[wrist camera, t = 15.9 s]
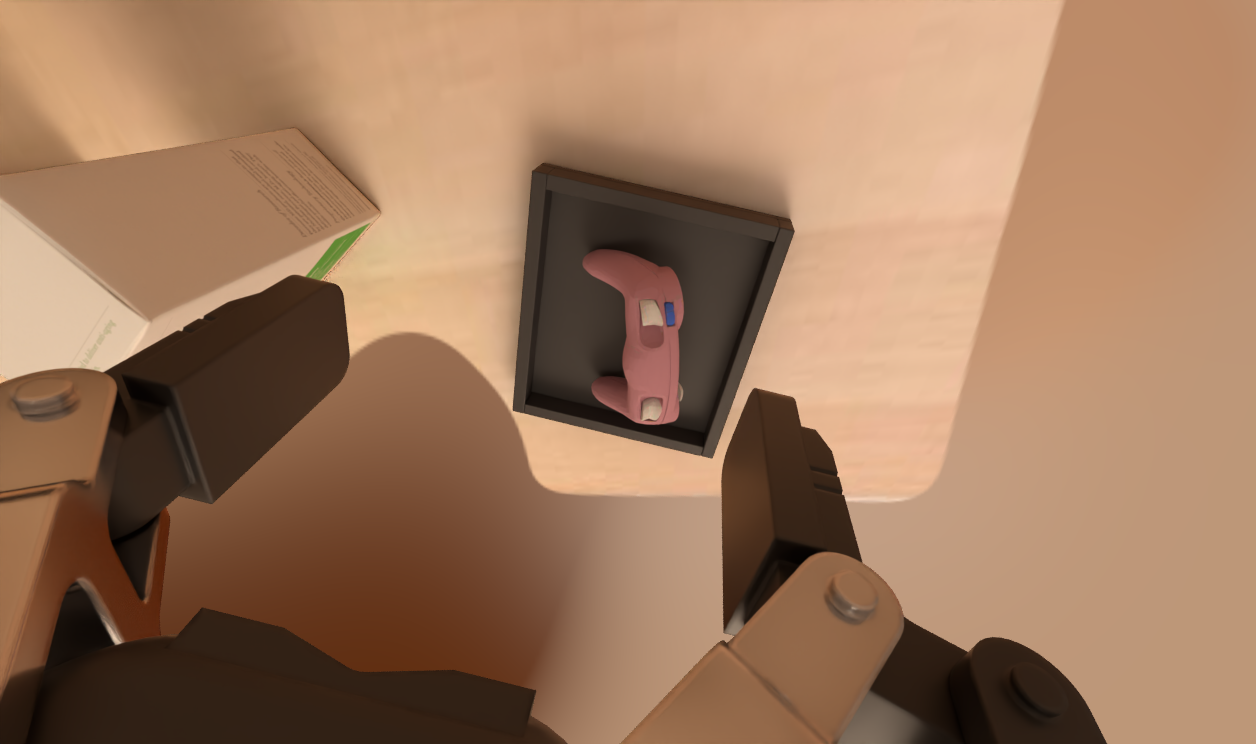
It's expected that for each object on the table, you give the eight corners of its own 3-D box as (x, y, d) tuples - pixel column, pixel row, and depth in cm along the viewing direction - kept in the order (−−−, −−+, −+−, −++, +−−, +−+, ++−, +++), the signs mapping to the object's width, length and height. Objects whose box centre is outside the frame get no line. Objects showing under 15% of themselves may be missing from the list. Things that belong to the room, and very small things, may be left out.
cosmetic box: (315, 289, 35) (78, 437, 22) (227, 209, 33) (-93, 322, 20) (387, 209, 32) (153, 331, 19) (292, 114, 30) (-47, 176, 17)
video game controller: (653, 378, 36) (696, 440, 31) (587, 391, 35) (620, 458, 30) (653, 234, 31) (706, 276, 26) (577, 244, 30) (613, 291, 24)
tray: (521, 394, 38) (512, 411, 36) (543, 162, 29) (531, 170, 27) (712, 440, 37) (712, 459, 35) (791, 219, 29) (795, 230, 27)
